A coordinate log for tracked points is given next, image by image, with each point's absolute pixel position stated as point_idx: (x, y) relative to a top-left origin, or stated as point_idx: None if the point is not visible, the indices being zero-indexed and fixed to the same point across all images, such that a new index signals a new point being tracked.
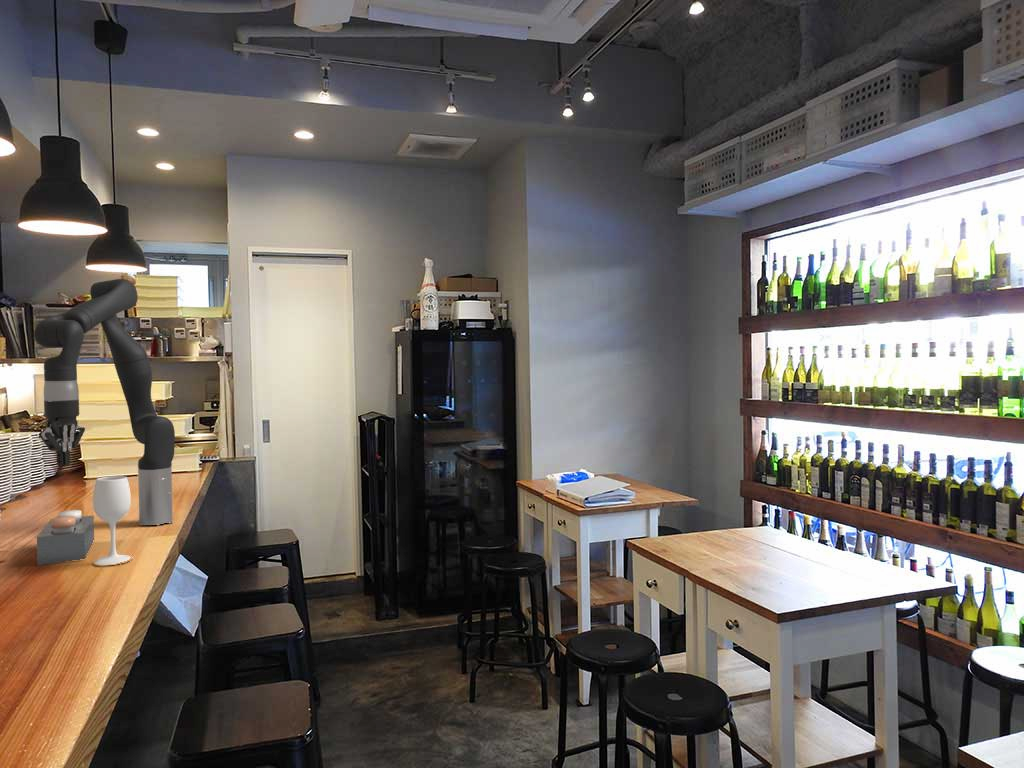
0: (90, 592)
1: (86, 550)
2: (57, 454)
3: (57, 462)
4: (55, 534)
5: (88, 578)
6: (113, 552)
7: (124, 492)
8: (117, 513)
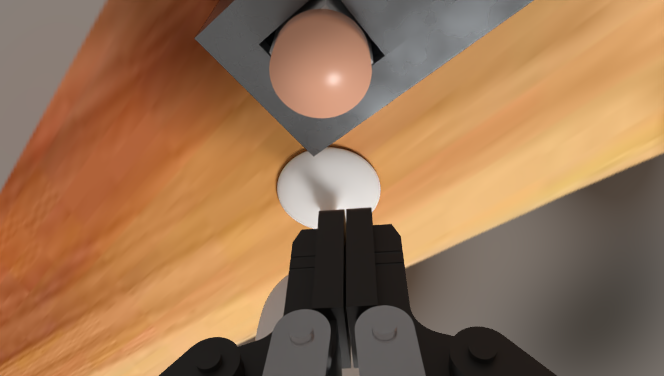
0: (127, 297)
1: None
2: (286, 311)
3: (293, 248)
4: (257, 74)
5: (191, 234)
6: None
7: None
8: None
